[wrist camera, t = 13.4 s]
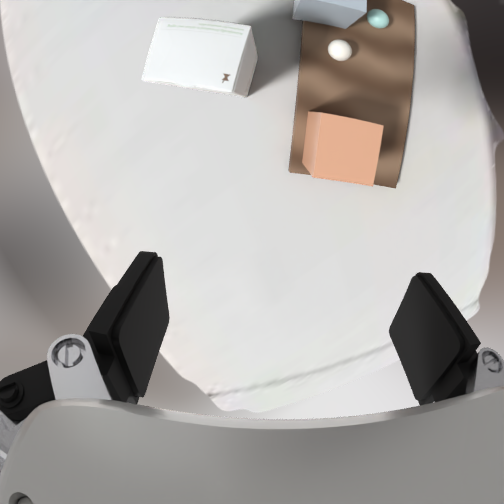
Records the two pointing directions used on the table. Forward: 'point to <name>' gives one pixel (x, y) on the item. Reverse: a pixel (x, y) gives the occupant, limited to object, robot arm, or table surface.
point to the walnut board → (360, 81)
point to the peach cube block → (341, 148)
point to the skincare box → (202, 55)
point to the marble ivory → (339, 50)
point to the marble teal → (377, 18)
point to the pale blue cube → (330, 11)
